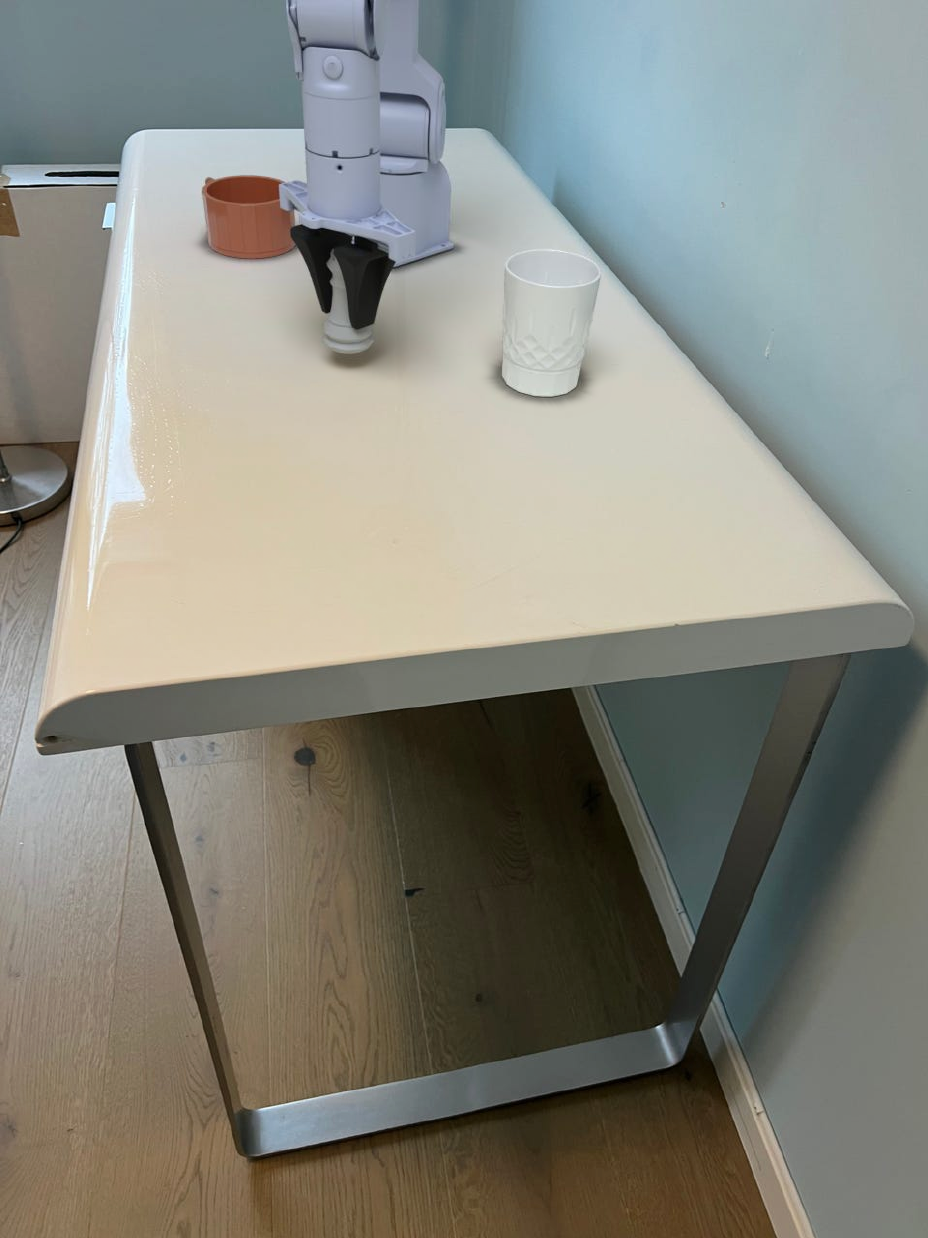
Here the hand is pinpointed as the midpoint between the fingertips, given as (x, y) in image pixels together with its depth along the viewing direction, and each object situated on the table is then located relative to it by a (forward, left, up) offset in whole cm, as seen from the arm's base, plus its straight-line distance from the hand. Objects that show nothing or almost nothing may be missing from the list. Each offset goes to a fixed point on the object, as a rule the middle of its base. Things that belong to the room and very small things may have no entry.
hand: (347, 317), depth 81 cm
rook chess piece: (0, 0, -3) cm, 3 cm away
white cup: (-11, +13, -4) cm, 18 cm away
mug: (-10, -29, -4) cm, 31 cm away
